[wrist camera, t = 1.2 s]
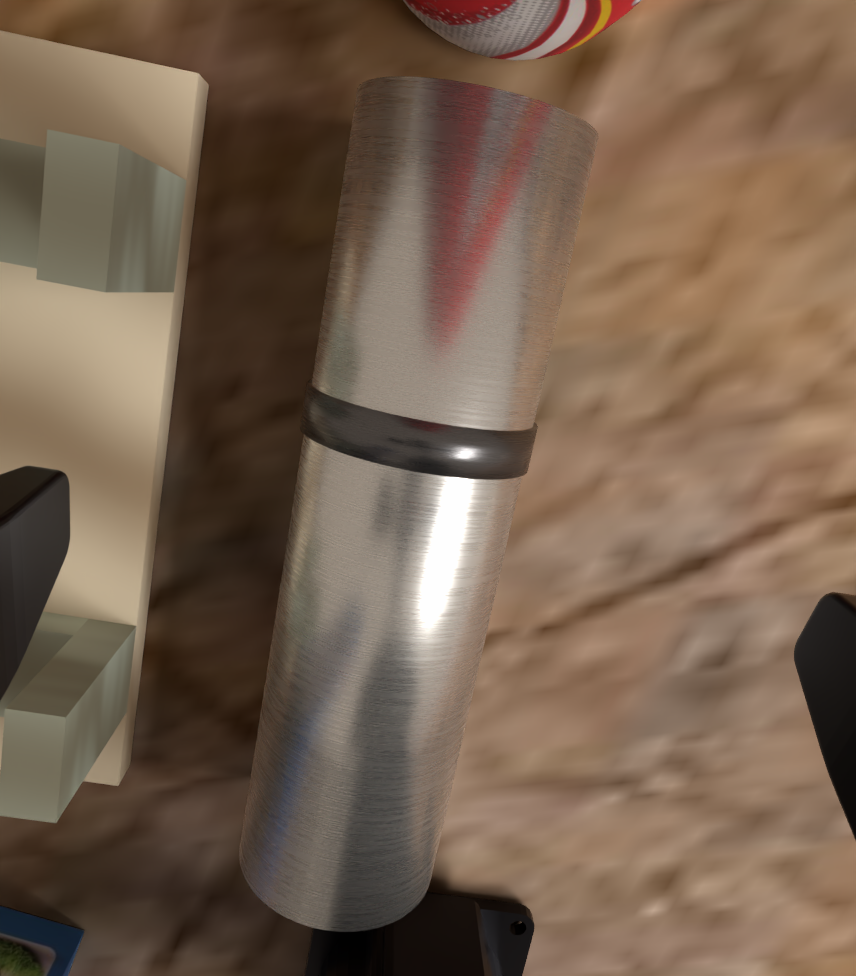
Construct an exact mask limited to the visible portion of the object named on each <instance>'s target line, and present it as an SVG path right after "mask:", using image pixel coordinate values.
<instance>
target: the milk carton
mask: <svg viewBox="0 0 856 976" xmlns="http://www.w3.org/2000/svg"><path fill="white" fill-rule="evenodd" d="M83 934H84V930H81V929H78V928H74V927H71V926H67V925H64V924H60V923H57V922H54V921H50V920H47V919H43V918H40V917H37V916H33V915H30V914H26V913H23V912H20V911H16V910H13V909H9V908H6V907H3V906H0V976H68V974H69V971H70V969H71V966H72V963H73V961H74V958H75V955H76V952H77V950H78V947H79V944H80V942H81V939H82V936H83Z"/></svg>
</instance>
